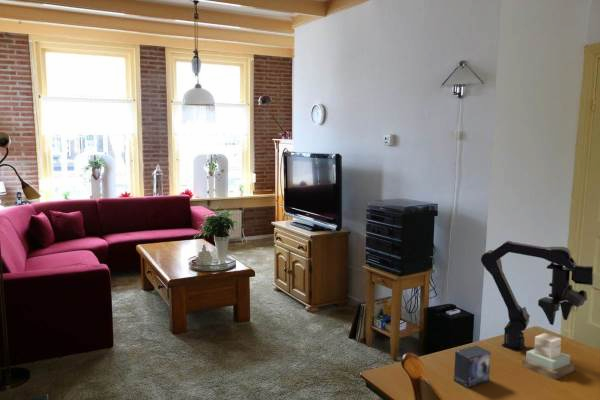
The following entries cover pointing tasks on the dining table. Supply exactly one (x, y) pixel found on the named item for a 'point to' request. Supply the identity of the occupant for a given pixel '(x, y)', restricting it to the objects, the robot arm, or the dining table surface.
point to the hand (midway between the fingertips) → (558, 322)
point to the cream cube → (547, 345)
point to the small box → (472, 366)
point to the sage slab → (548, 360)
